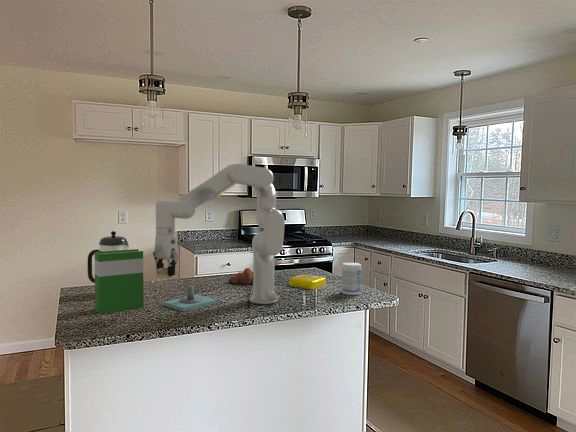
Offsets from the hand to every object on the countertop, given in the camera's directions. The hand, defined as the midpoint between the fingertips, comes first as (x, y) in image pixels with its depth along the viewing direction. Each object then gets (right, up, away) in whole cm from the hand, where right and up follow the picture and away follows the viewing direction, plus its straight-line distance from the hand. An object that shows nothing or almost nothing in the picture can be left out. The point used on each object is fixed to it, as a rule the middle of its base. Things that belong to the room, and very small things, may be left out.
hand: (165, 274), depth 181 cm
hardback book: (-21, -15, +5) cm, 26 cm away
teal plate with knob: (+7, -15, +13) cm, 21 cm away
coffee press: (-34, -13, +28) cm, 46 cm away
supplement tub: (+81, -15, +37) cm, 91 cm away
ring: (0, -1, 0) cm, 1 cm away
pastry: (+29, -13, +58) cm, 66 cm away
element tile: (+61, -14, +55) cm, 83 cm away
